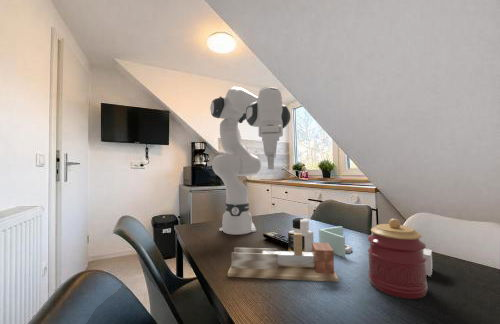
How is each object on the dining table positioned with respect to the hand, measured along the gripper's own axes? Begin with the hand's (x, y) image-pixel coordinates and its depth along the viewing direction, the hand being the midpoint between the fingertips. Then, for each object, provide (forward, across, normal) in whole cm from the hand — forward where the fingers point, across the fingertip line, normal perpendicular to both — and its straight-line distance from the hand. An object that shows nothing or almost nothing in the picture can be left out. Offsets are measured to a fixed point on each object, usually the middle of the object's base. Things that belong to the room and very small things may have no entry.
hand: (271, 169), depth 83 cm
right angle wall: (+32, -10, +27) cm, 43 cm away
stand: (+31, +11, +3) cm, 33 cm away
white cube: (+31, +7, +45) cm, 55 cm away
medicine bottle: (+31, -7, +11) cm, 34 cm away
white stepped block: (+29, +11, +6) cm, 32 cm away
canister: (+31, +18, +33) cm, 49 cm away
